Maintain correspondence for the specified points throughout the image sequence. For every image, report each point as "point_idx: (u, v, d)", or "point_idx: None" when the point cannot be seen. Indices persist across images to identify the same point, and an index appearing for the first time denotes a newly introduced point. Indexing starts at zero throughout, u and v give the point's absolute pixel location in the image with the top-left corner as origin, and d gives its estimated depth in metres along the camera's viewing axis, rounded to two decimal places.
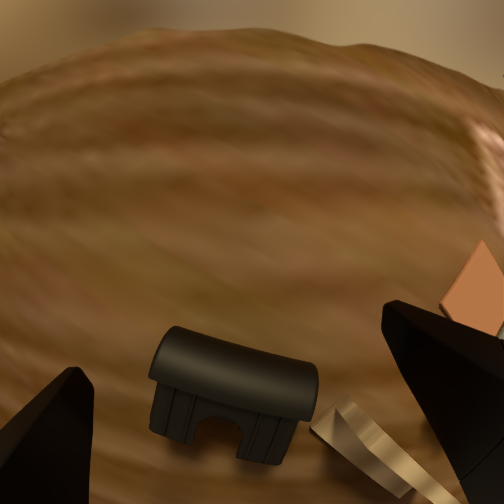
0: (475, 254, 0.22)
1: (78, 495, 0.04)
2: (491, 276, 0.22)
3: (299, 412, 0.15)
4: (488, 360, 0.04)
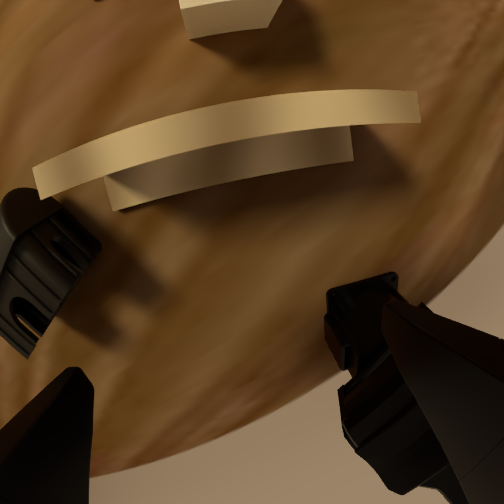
0: None
1: (78, 495, 0.04)
2: None
3: (4, 243, 0.11)
4: (487, 360, 0.04)
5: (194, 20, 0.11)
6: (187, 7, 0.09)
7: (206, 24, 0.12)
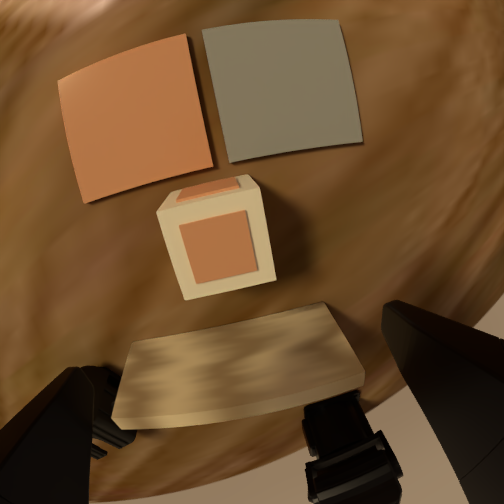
0: (63, 107, 0.14)
1: (79, 495, 0.04)
2: (107, 82, 0.14)
3: None
4: (487, 360, 0.04)
5: None
6: None
7: None
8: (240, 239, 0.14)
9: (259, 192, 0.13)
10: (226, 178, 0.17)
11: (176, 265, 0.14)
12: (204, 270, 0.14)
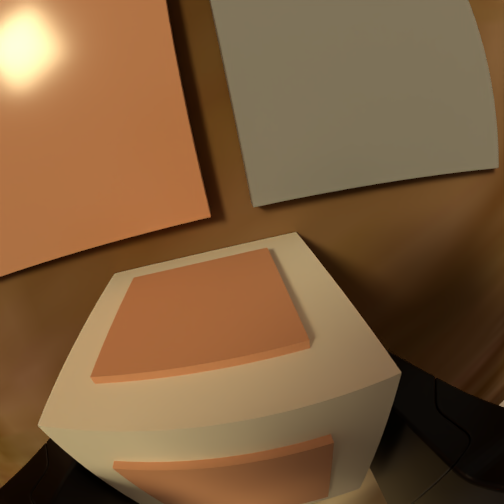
0: None
1: None
2: None
3: None
4: (413, 403, 0.04)
5: None
6: None
7: None
8: (302, 481, 0.04)
9: (395, 386, 0.03)
10: (246, 253, 0.06)
11: (135, 497, 0.04)
12: None
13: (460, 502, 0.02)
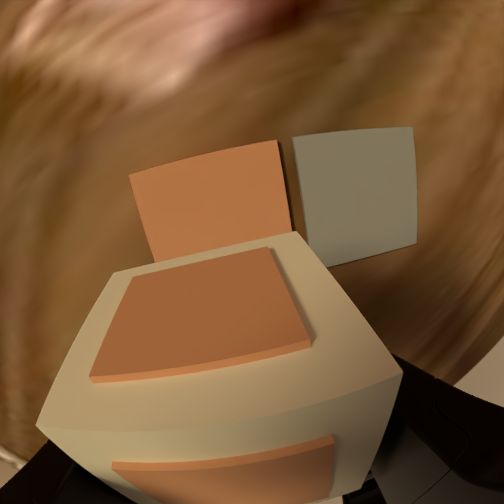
0: (141, 207, 0.16)
1: None
2: (193, 187, 0.16)
3: None
4: (413, 403, 0.04)
5: None
6: None
7: None
8: (303, 481, 0.04)
9: (396, 385, 0.03)
10: (246, 252, 0.06)
11: (135, 498, 0.04)
12: None
13: (460, 502, 0.02)
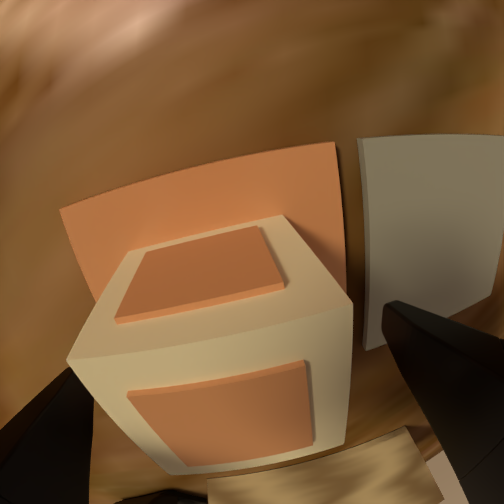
0: (85, 265, 0.09)
1: (78, 495, 0.04)
2: (173, 232, 0.09)
3: None
4: (487, 360, 0.04)
5: None
6: (180, 474, 0.06)
7: None
8: (285, 415, 0.05)
9: (350, 316, 0.04)
10: (240, 229, 0.08)
11: (141, 443, 0.05)
12: (202, 455, 0.05)
13: None
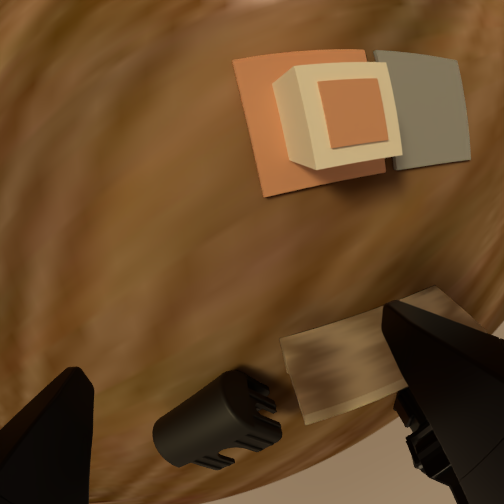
0: (243, 90, 0.15)
1: (78, 495, 0.04)
2: None
3: (241, 432, 0.18)
4: (487, 360, 0.04)
5: None
6: (322, 168, 0.13)
7: None
8: (374, 104, 0.11)
9: (386, 66, 0.11)
10: None
11: (311, 125, 0.12)
12: (341, 132, 0.12)
13: None
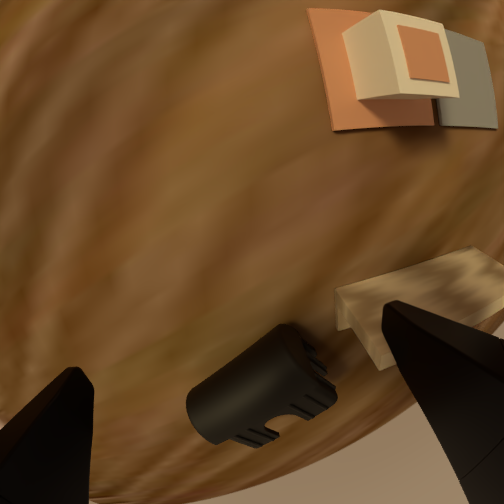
0: (317, 33, 0.14)
1: (78, 495, 0.04)
2: None
3: (303, 389, 0.17)
4: (487, 360, 0.04)
5: (389, 95, 0.13)
6: (404, 93, 0.11)
7: None
8: (438, 52, 0.10)
9: (443, 27, 0.10)
10: None
11: (394, 56, 0.11)
12: (417, 67, 0.11)
13: None
